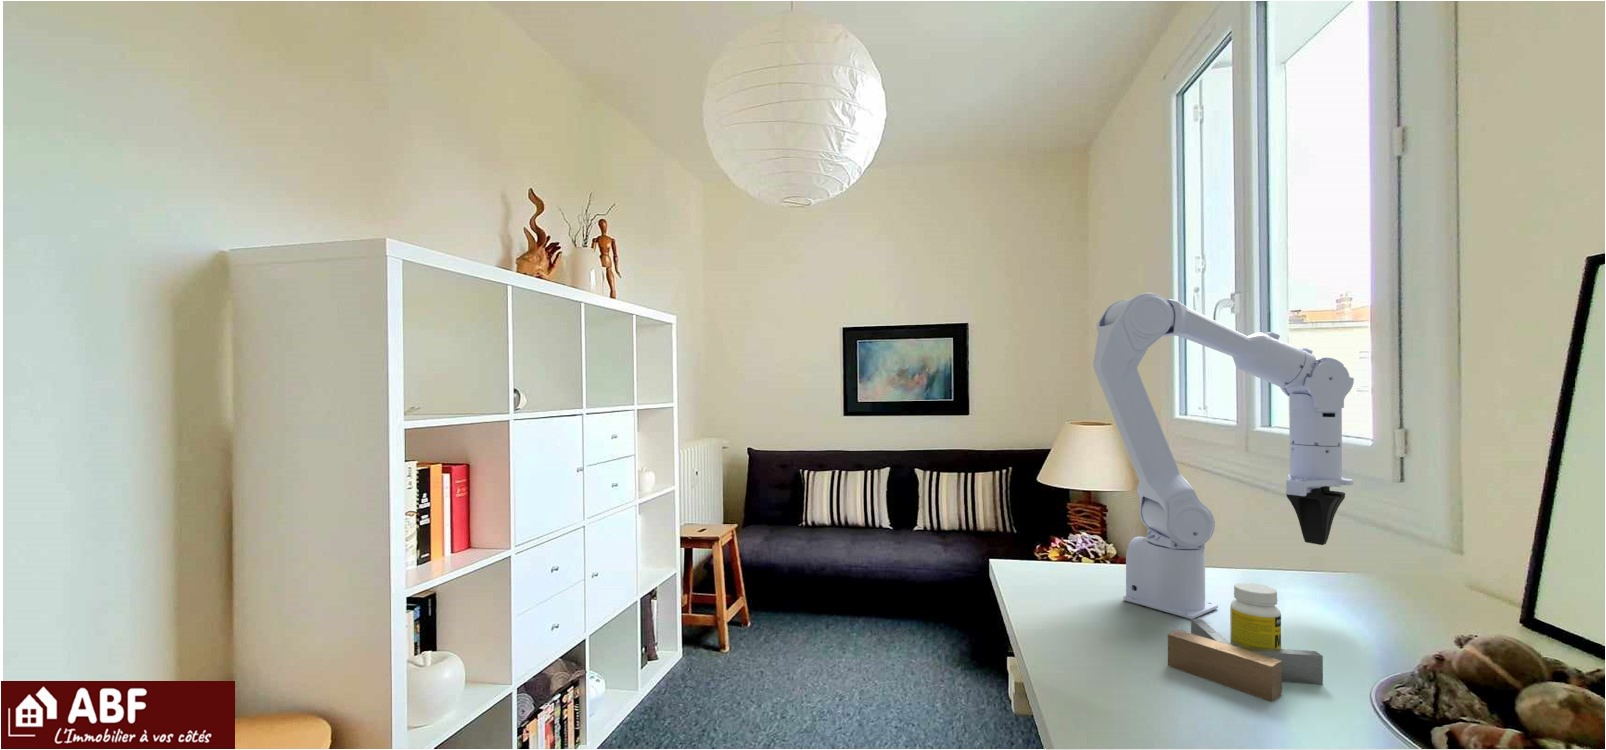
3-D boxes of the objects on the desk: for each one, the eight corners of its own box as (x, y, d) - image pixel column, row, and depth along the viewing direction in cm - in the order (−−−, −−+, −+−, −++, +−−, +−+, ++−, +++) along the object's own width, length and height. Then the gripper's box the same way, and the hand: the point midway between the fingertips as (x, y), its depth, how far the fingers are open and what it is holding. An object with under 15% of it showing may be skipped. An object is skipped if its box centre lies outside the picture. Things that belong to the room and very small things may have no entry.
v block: (1154, 660, 74) (1154, 629, 74) (1194, 641, 79) (1194, 612, 79) (1290, 708, 63) (1290, 672, 63) (1325, 682, 69) (1325, 649, 69)
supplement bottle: (1285, 675, 70) (1285, 597, 71) (1233, 666, 73) (1232, 590, 73) (1276, 658, 75) (1276, 584, 75) (1227, 650, 77) (1227, 579, 77)
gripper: (1332, 450, 83) (1332, 557, 83) (1369, 444, 91) (1369, 541, 91) (1268, 445, 89) (1268, 545, 89) (1308, 440, 97) (1308, 531, 97)
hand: (1315, 543), depth 90 cm, fingers closed
